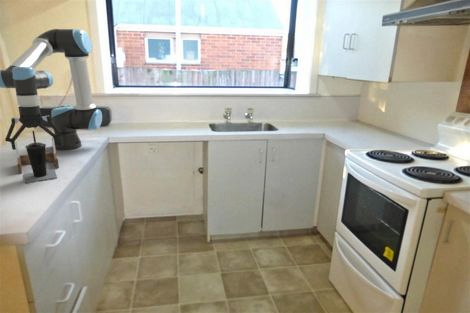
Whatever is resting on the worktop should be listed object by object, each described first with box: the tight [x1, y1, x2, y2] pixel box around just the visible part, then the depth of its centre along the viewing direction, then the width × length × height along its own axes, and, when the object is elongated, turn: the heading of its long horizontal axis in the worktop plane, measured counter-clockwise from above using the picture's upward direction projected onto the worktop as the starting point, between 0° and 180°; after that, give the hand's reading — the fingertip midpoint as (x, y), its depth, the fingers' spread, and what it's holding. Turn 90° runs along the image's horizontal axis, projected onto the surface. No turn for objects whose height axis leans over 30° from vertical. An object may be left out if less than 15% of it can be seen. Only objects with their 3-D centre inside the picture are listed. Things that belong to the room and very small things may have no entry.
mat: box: [23, 168, 58, 184], centre depth 144 cm, size 12×12×1 cm
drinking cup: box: [24, 130, 48, 177], centre depth 141 cm, size 8×8×20 cm
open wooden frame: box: [16, 151, 60, 175], centre depth 156 cm, size 16×15×4 cm
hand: (37, 154), depth 141 cm, fingers open, 13 cm apart
